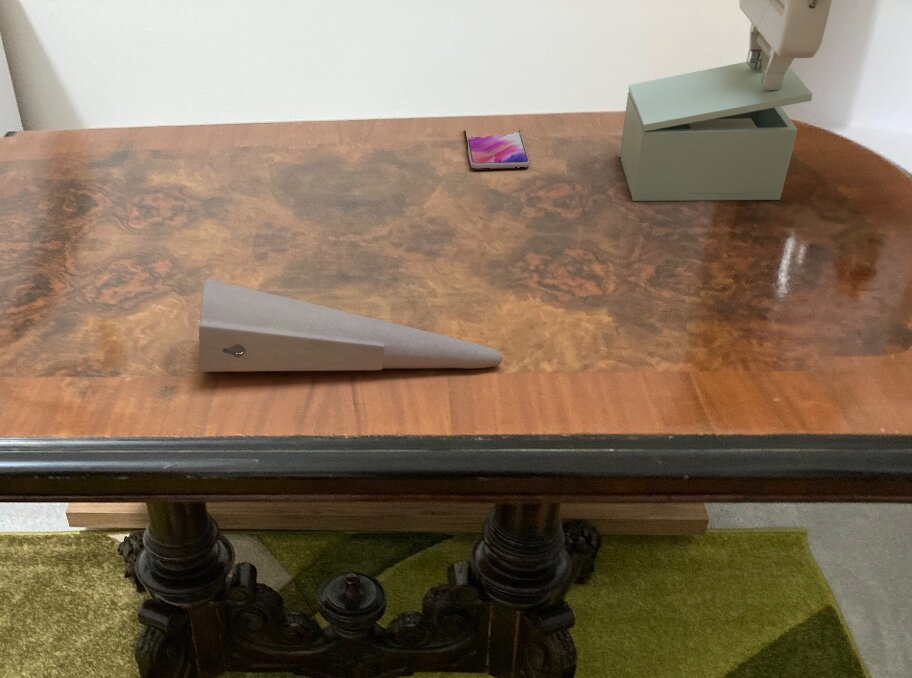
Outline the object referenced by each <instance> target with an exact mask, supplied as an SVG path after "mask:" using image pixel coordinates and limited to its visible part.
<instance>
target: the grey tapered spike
mask: <svg viewBox="0 0 912 678" xmlns="http://www.w3.org/2000/svg"><path fill="white" fill-rule="evenodd" d="M199 315H200V316H199V325H198V346H199V347H198V349H199V350H198V351H199V352H198V353H199V370H200V372H207V373H208V372H310V371H311V372H313V371H314V372H316V371H317V372H318V371H319V372H320V371H321V372H322V371H324V372H325V371H328V372H329V371H333V372H334V371H382V370H383V369H468V370H469V369H486V368H492V367H496V366H499V365H501V363H502V361H503V355H502V353H501V352H500V351H499V350H497V349H496V348H493V347H489V346H486V345H483V344H481V343H480V344H479V343H477V342H476V343H475V342H471V341H468V340H464V339H460V338H457V337H452V336H448V335H444V334H440V333H435V332H432V331H428V330H423V329H419V328H415V327H411V326H407V325H402V324H398V323H394V322H390V321H385V320H382V319H377V318H373V317H369V316H366V315H360V314H357V313H352V312H349V311H344V310H340V309H335V308H332V307H329V306H323V305H319V304H314V303H311V302H306V301H303V300H298V299H294V298H290V297H286V296H282V295H277V294H273V293H268V292H264V291H261V290H256V289H253V288H249V287H246V286H241V285H238V284H233V283H229V282H225V281H224V282H223V281H220V280H217V279H211V278H206V279H205V280H204V284H203V288H202V295H201V303H200V314H199ZM241 352H243V353H242V354H239V353H241ZM236 353H238V354H236Z"/></svg>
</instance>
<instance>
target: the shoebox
mask: <svg viewBox="0 0 912 678" xmlns="http://www.w3.org/2000/svg"><path fill="white" fill-rule="evenodd" d="M747 118H751V120H752V121H753V123H754V124H755V125H756V126H757V128H720V129H685V126H686V124H682V125H677V126H672V127H666V128H661V129H655V130H650V131H644V130H643V128H642V125H641V122H640V120H639V117H638V114H637V112H636V109H635V106H634V104H633V101H632V98H631V96H630V93H629V92H627V98H626V106H625V114H624V120H623V126H622V127H623V128H622V134H621V135H622V136H621V142H620V150H619V158H620V157H621V159H620V163H621V162H622V163H621V165H622V169H623V173H624V176H625V179H626V182H627V186H628V190H629V193H630V197H631V200H632V202H668V201H670V202H671V201H672V202H673V201H674V202H675V201H676V202H677V201H679V202H680V201H681V202H682V201H688V202H690V201H780V200H781V197H782V193H783V190H784V186H785V181H786V178H787V174H788V171H789V166H790V162H791V158H792V154H793V150H794V147H795V142H796V139H797V136H798V135H797V134H798V130H799V129H798V128H797V126H796V125H795V123H794V122H793V121H792V120H791V118H790V117H789V115H788V114H787V113H786V112H785V110H784V109H783V107H782V106H780V107H775V108H769V109H764V110H758V111H753V112H748V113H742V114H737V115H731V116H726V117H720V118H715V119H747Z"/></svg>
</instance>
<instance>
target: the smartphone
mask: <svg viewBox="0 0 912 678" xmlns="http://www.w3.org/2000/svg"><path fill="white" fill-rule="evenodd" d="M493 136H494V135H493ZM493 136H487V137H485V138H481V137H475V138H473V137H471V138H473V139H469V138H468V139H469V140H468V150H467V155H469V156H468V160H469V165H471V166H470V168H472V167H473V168H490V169H521V168H520V167H525V168H527V167H529V166H530V160H529V156H528V153H527V150H526V146H525V143H524V139H523V136H522V133H521V134H519V133H516V132H515V133H513V134H508V135H506V136H503V135H502V136H501V135H497V136H495V137H493ZM503 167H504V168H503ZM515 167H517V168H515ZM473 168H472V169H473Z"/></svg>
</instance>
